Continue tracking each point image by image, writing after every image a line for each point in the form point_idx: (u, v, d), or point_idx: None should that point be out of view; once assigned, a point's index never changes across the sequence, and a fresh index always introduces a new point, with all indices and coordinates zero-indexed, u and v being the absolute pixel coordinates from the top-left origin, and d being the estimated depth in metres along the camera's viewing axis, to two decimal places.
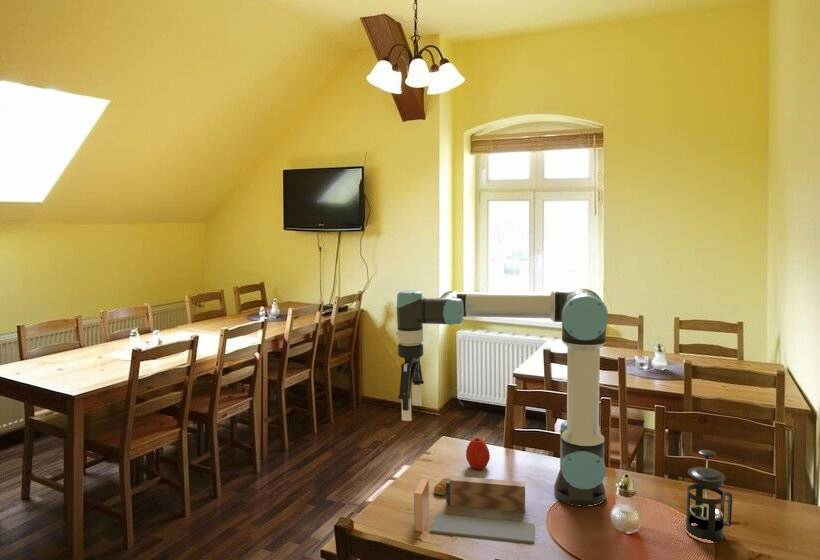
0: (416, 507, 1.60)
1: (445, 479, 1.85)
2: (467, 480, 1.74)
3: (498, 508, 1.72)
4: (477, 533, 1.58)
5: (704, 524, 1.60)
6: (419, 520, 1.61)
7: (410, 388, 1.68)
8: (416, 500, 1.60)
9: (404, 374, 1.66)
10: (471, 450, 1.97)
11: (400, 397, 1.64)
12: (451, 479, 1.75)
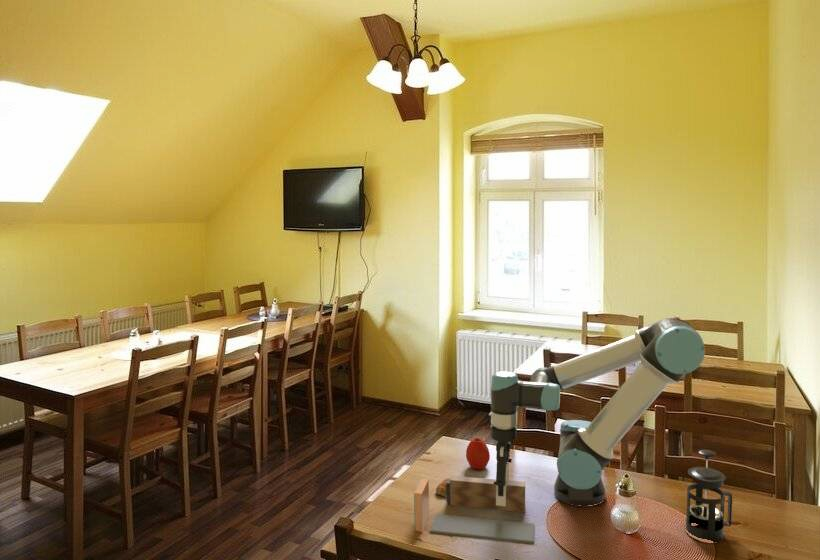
0: (416, 507, 1.60)
1: None
2: (467, 480, 1.74)
3: (498, 508, 1.72)
4: (477, 533, 1.58)
5: (704, 524, 1.60)
6: (419, 520, 1.61)
7: (505, 473, 1.65)
8: (416, 500, 1.60)
9: (500, 459, 1.64)
10: (471, 450, 1.97)
11: (497, 484, 1.62)
12: (451, 479, 1.75)
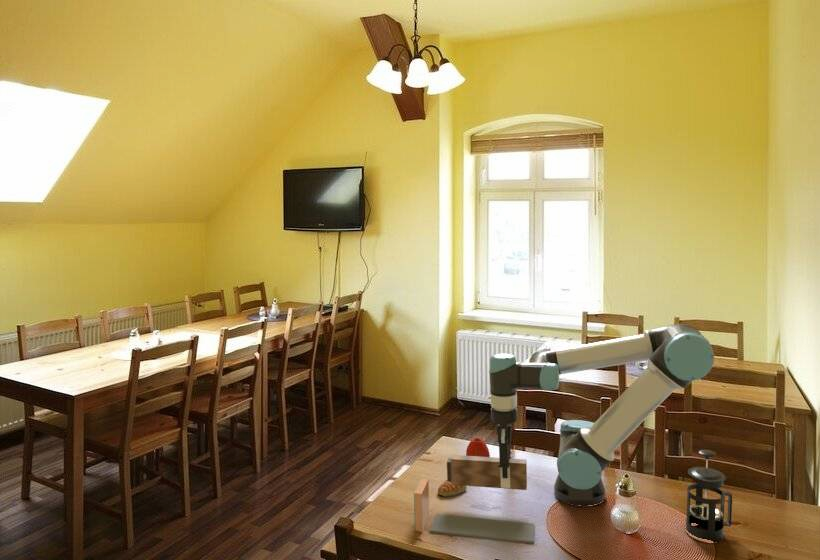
0: (416, 507, 1.60)
1: None
2: (468, 459, 1.73)
3: (500, 486, 1.71)
4: (477, 533, 1.58)
5: (704, 524, 1.60)
6: (419, 520, 1.61)
7: (508, 456, 1.68)
8: (416, 500, 1.60)
9: (502, 446, 1.65)
10: (471, 450, 1.97)
11: (501, 466, 1.66)
12: (452, 458, 1.74)
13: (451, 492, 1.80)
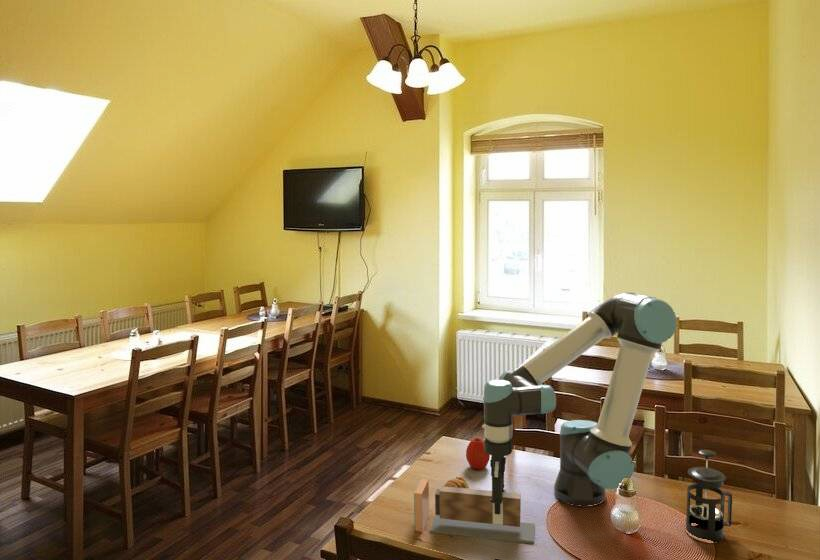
0: (416, 507, 1.60)
1: (451, 481, 1.84)
2: (458, 491, 1.61)
3: (491, 522, 1.59)
4: (477, 533, 1.58)
5: (704, 524, 1.60)
6: (419, 520, 1.61)
7: None
8: (416, 500, 1.60)
9: (495, 480, 1.53)
10: (471, 450, 1.97)
11: (493, 501, 1.54)
12: (441, 490, 1.62)
13: None
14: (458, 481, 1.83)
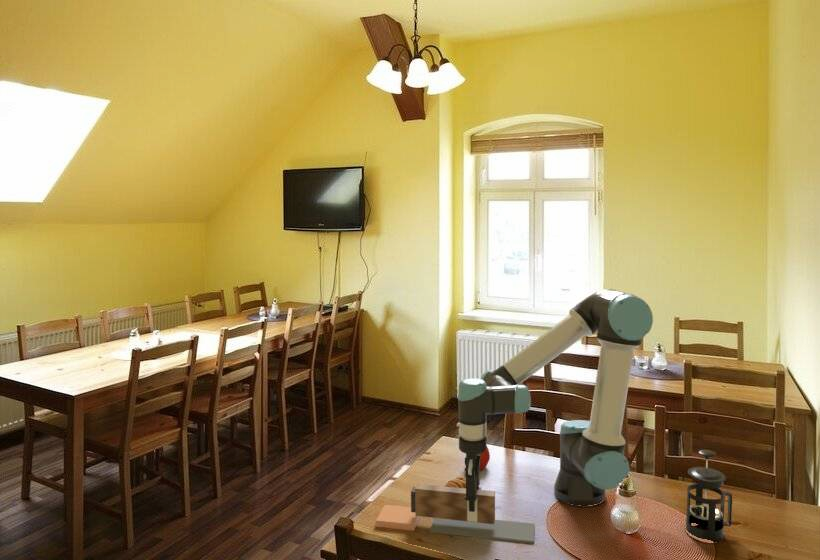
0: (390, 527, 1.63)
1: (452, 481, 1.84)
2: (433, 489, 1.63)
3: (466, 519, 1.61)
4: (477, 533, 1.58)
5: (704, 524, 1.60)
6: (403, 526, 1.62)
7: (476, 488, 1.58)
8: (383, 526, 1.63)
9: (469, 478, 1.55)
10: None
11: (467, 499, 1.56)
12: (416, 487, 1.63)
13: None
14: (459, 481, 1.83)
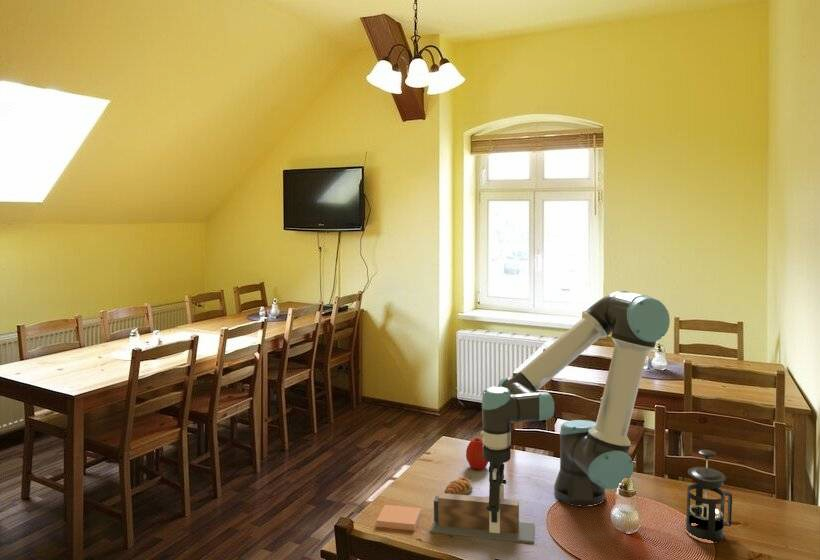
0: (390, 527, 1.63)
1: (454, 481, 1.83)
2: (457, 498, 1.61)
3: None
4: (477, 533, 1.58)
5: (704, 524, 1.60)
6: (403, 526, 1.62)
7: (499, 497, 1.53)
8: (383, 526, 1.63)
9: (493, 483, 1.52)
10: (471, 450, 1.97)
11: (490, 509, 1.50)
12: (439, 497, 1.62)
13: (458, 493, 1.79)
14: (462, 482, 1.83)
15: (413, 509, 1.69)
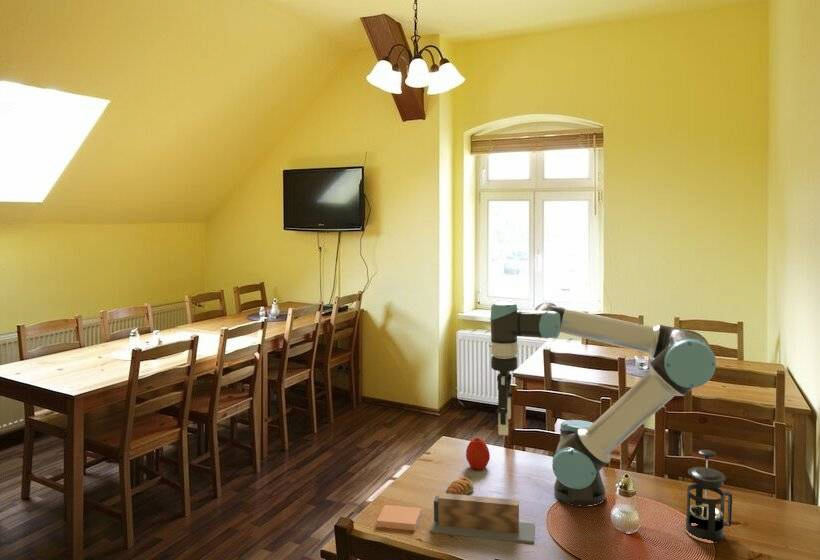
0: (391, 527, 1.63)
1: (455, 482, 1.83)
2: (457, 498, 1.61)
3: (490, 528, 1.59)
4: (477, 533, 1.58)
5: (704, 524, 1.60)
6: (404, 526, 1.62)
7: (507, 402, 1.64)
8: (384, 526, 1.63)
9: (502, 388, 1.63)
10: (471, 450, 1.97)
11: (499, 411, 1.61)
12: (439, 497, 1.62)
13: (460, 494, 1.79)
14: (463, 482, 1.83)
15: (413, 509, 1.69)
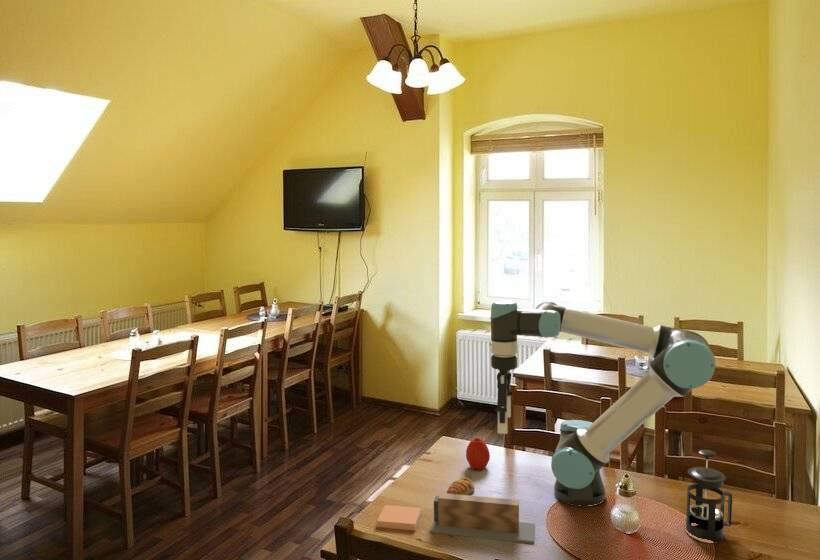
0: (391, 527, 1.63)
1: (456, 482, 1.83)
2: (457, 498, 1.61)
3: (490, 528, 1.59)
4: (477, 533, 1.58)
5: (704, 524, 1.60)
6: (404, 526, 1.62)
7: None
8: (384, 526, 1.63)
9: (501, 386, 1.63)
10: (471, 450, 1.97)
11: (498, 410, 1.62)
12: (439, 497, 1.62)
13: (461, 494, 1.79)
14: (464, 482, 1.82)
15: (413, 509, 1.69)
